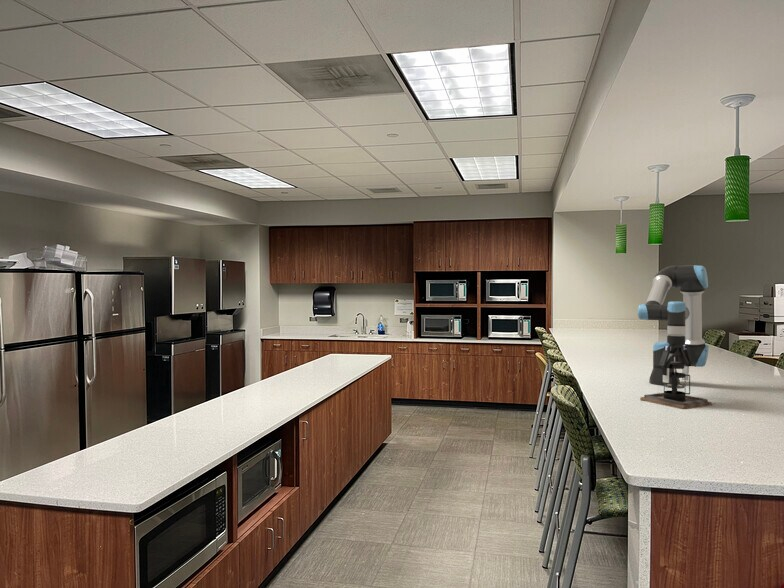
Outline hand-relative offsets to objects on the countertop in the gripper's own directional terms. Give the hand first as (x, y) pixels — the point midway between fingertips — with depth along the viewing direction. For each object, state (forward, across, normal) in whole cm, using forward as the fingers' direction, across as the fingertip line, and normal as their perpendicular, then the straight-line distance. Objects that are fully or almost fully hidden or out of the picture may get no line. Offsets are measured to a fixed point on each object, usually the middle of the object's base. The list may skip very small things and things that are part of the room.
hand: (675, 381), depth 265 cm
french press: (+9, 0, 0) cm, 9 cm away
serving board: (+10, 0, 0) cm, 10 cm away
